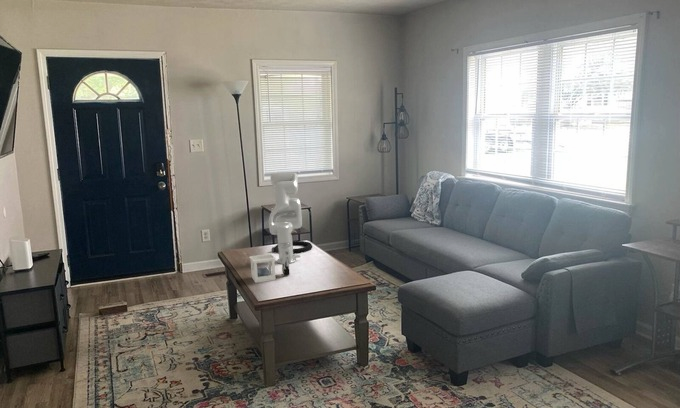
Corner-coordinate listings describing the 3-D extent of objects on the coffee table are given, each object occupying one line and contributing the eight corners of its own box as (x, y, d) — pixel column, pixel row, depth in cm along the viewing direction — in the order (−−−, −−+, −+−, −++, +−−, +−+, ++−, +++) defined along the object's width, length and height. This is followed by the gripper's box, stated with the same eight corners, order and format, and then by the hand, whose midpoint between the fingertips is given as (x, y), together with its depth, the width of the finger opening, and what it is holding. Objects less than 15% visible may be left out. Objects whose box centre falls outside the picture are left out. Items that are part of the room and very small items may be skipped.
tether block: (287, 273, 323) (286, 264, 322) (289, 276, 317) (289, 266, 316) (256, 278, 316) (256, 268, 315) (258, 280, 311) (258, 271, 310)
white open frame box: (271, 274, 323) (270, 253, 321) (276, 279, 311) (275, 258, 309) (250, 277, 318) (249, 256, 316) (254, 283, 306) (253, 261, 304)
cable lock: (317, 246, 374) (277, 251, 363) (318, 251, 375) (277, 257, 363) (304, 238, 399) (266, 243, 388) (305, 243, 400) (267, 248, 388)
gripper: (293, 247, 310) (295, 277, 313) (286, 241, 325) (288, 269, 328) (281, 248, 307) (283, 278, 310) (275, 242, 322) (276, 271, 326)
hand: (286, 273), depth 319 cm, fingers closed on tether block, 3 cm apart
